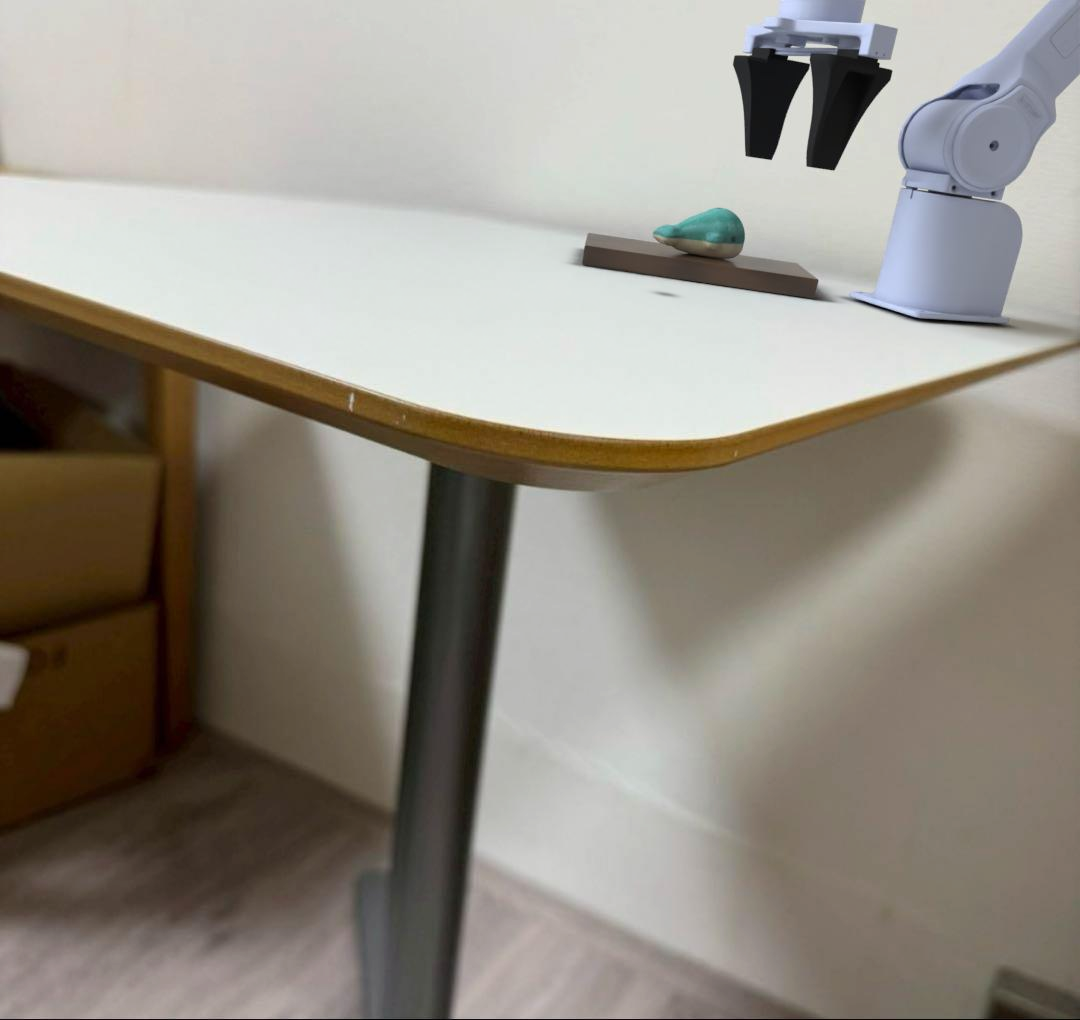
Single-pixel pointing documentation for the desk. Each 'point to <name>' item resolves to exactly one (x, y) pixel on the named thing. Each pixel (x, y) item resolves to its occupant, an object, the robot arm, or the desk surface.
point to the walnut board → (698, 266)
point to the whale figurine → (706, 234)
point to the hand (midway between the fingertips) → (788, 163)
